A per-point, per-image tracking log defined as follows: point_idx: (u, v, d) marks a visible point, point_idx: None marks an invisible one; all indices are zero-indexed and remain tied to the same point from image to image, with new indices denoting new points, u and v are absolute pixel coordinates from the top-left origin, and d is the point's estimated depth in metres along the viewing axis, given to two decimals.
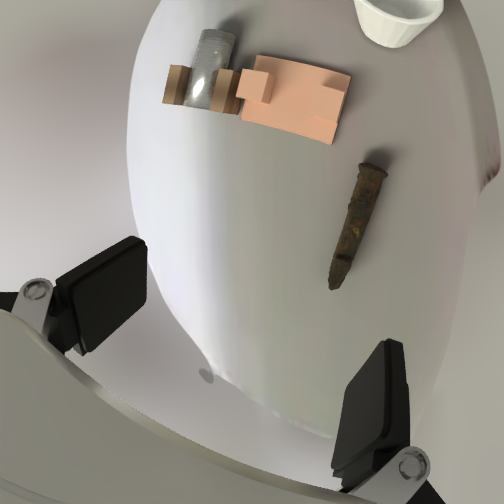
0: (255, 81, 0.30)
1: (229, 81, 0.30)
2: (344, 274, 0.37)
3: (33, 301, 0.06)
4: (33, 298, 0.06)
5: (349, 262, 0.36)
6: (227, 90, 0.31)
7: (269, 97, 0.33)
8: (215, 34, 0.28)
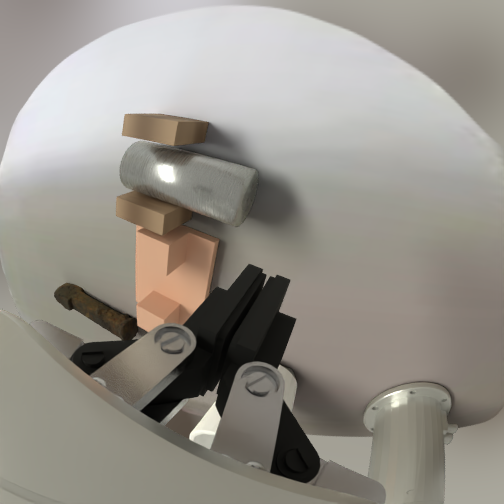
0: (155, 258, 0.26)
1: (148, 228, 0.24)
2: (63, 305, 0.39)
3: (160, 351, 0.06)
4: (164, 346, 0.06)
5: (70, 309, 0.39)
6: (138, 224, 0.24)
7: None
8: (223, 214, 0.22)
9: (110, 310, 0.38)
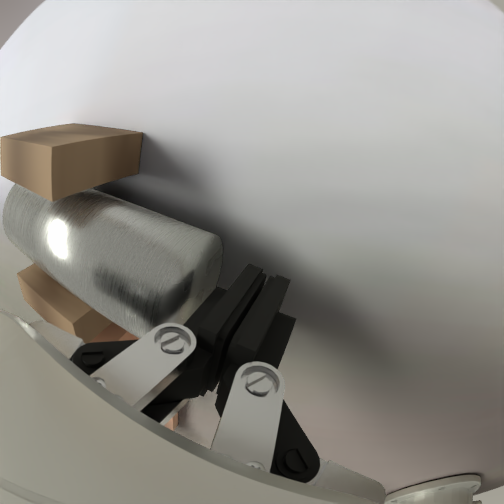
0: None
1: None
2: None
3: (160, 351, 0.06)
4: (164, 346, 0.06)
5: None
6: (49, 322, 0.12)
7: None
8: None
9: None
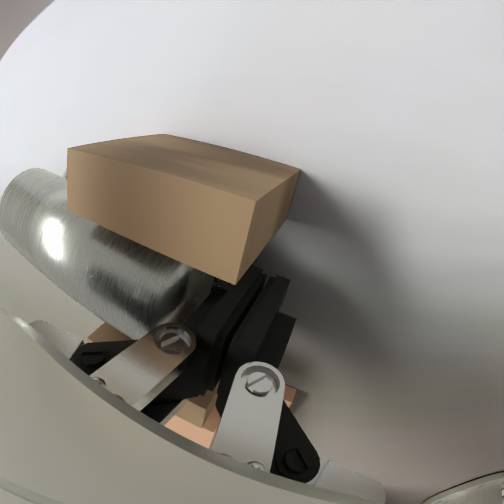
0: (184, 434, 0.12)
1: None
2: None
3: (160, 351, 0.06)
4: (164, 346, 0.06)
5: None
6: None
7: None
8: None
9: None
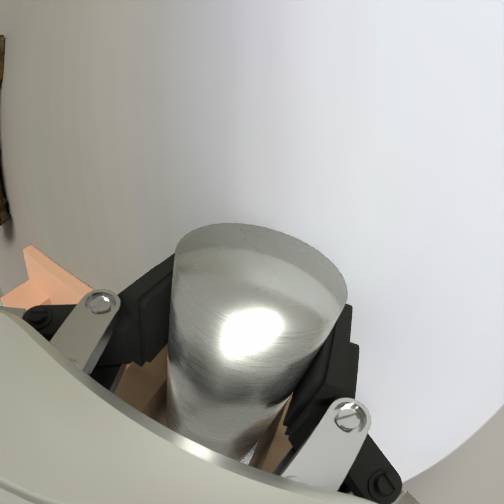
0: None
1: None
2: None
3: (93, 314, 0.06)
4: (95, 310, 0.07)
5: None
6: None
7: None
8: None
9: None
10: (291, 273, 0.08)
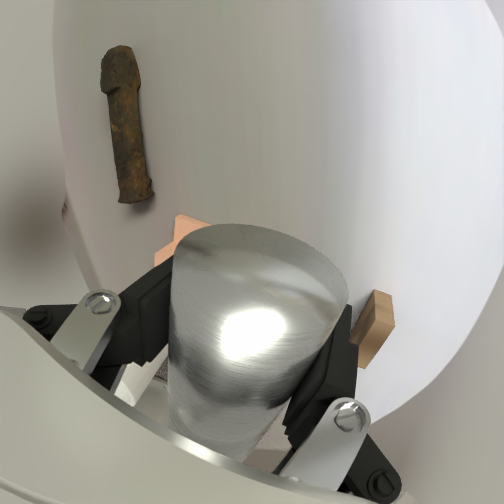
0: None
1: None
2: (101, 77, 0.22)
3: (94, 314, 0.06)
4: (95, 310, 0.07)
5: (104, 92, 0.23)
6: None
7: None
8: None
9: (142, 158, 0.27)
10: (291, 274, 0.08)
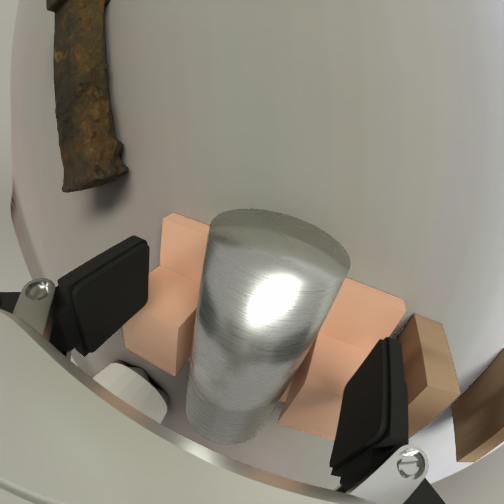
0: (312, 419, 0.12)
1: None
2: None
3: (35, 301, 0.06)
4: (35, 298, 0.06)
5: (49, 9, 0.08)
6: None
7: (309, 352, 0.14)
8: (201, 429, 0.13)
9: (105, 103, 0.12)
10: (304, 246, 0.09)
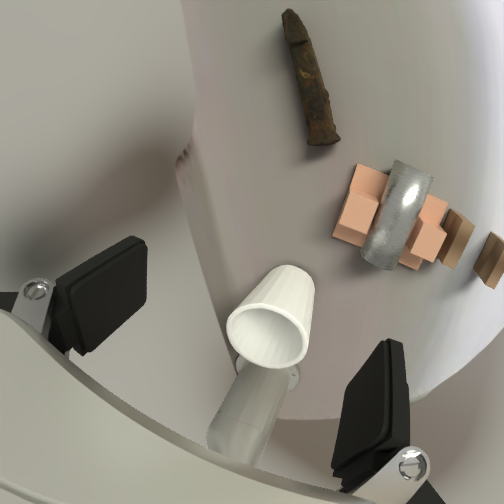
0: (424, 245, 0.28)
1: (448, 252, 0.27)
2: (286, 29, 0.24)
3: (33, 301, 0.06)
4: (33, 298, 0.06)
5: (290, 43, 0.25)
6: (453, 243, 0.26)
7: None
8: (375, 258, 0.30)
9: None
10: None
